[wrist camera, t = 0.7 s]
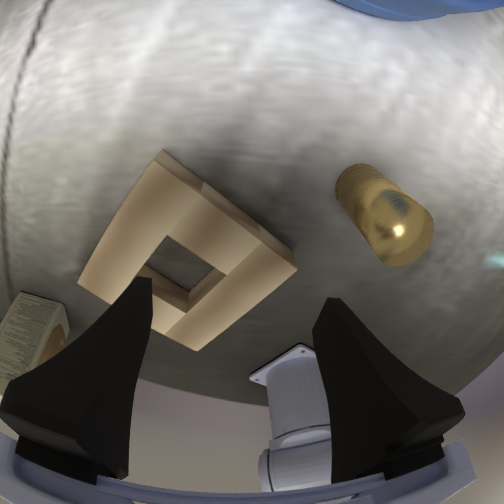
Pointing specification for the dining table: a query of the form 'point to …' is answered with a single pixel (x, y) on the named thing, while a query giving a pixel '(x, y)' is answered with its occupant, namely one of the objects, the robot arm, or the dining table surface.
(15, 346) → the skincare box
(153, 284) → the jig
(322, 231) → the dining table surface
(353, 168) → the amber rounded cylinder
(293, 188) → the dining table surface
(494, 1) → the water jug
